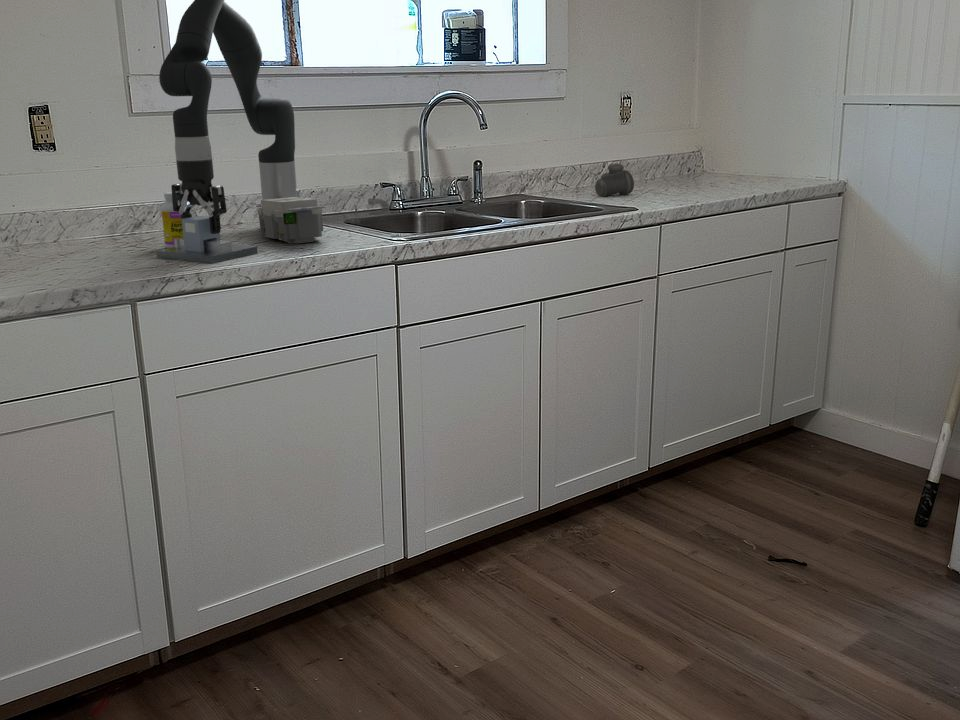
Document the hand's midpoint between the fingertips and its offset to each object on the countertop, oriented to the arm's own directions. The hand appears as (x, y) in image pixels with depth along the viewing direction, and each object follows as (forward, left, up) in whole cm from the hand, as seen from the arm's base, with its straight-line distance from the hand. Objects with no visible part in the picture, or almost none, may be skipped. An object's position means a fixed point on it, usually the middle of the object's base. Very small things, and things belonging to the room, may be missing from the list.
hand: (201, 232), depth 205 cm
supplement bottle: (-6, -14, -5) cm, 17 cm away
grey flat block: (-1, 0, -5) cm, 5 cm away
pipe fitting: (-141, +38, -6) cm, 146 cm away
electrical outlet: (-27, +1, -6) cm, 28 cm away
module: (0, 0, -4) cm, 4 cm away
